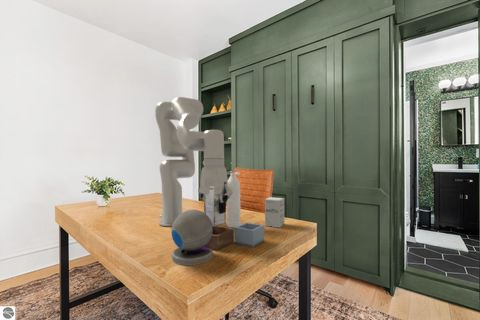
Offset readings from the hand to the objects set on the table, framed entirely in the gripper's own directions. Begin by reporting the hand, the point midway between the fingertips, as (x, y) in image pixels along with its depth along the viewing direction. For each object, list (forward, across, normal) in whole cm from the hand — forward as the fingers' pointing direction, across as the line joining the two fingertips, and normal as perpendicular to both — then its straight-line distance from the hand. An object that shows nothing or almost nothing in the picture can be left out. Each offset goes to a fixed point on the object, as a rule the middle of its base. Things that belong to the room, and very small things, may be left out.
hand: (215, 211), depth 87 cm
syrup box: (+5, 0, 0) cm, 5 cm away
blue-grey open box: (+12, +10, +8) cm, 17 cm away
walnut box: (+12, 0, 0) cm, 12 cm away
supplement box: (+12, +8, +34) cm, 37 cm away
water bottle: (+12, -8, +24) cm, 28 cm away
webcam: (+12, +1, -13) cm, 18 cm away
